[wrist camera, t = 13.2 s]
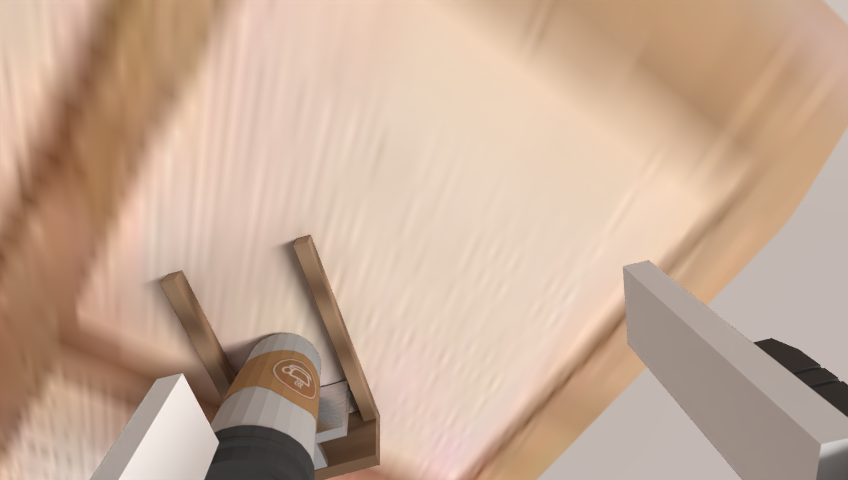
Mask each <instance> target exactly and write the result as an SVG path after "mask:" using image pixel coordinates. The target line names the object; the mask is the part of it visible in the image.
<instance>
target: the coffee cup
mask: <svg viewBox="0 0 848 480" xmlns="http://www.w3.org/2000/svg"><path fill="white" fill-rule="evenodd" d="M320 373H321V359H320V356H319V353H318V352H317V350H316V349H315V348H314V346H313V345H312V344H311V343H310V342H309V341H308V340H307V339H305V338H303V337H301V336H299V335H296V334H291V333H279V334H274V335H272V336H269V337H267V338H265V339H263V340H261V341H260V342H259V343H258V344H257V345H255V347H254V349H253V350H252V352H251V353H250V355H249V357H248V359H247V361H246V362H245V364H244V365H243V366H242V368H241V370H240V371H239V373H238V374H237V376H236V378H235V380H234V382H233V383H232V385H231V387H230V389H229V390H228V392H227V394H226V396H225V397H224V399H223V401H222V403H221V404H220V406H219V408H218V410H217V414H216V416H215V418H214V420H213V421H212V423H211V425H210V426H211V428H212V430H213V432H214V434H215V436H216V437H217V439H218V441H219V444H218V446H217V449H216V451H215V454H214V456H213V459H212V461H211V464H210V466H209V469H208V471H207V474H206V476H205V479H204V480H314V479H315V469H314V464H313V457H314V445H315V434H316V431H317V422H318V409H319V396H320Z"/></svg>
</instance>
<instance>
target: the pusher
mask: <svg viewBox="0 0 848 480" xmlns="http://www.w3.org/2000/svg"><path fill="white" fill-rule="evenodd" d="M350 394H351V388H350V385H349V383H348V380H346V381H343V382H339V383H335V384H332V385H328V386H324V387H321V388H320V396H319V409H318V422H317V431H316V434H315V445H314V457H313V464H314V469H315V470H317V469H320V468H324V467H328V459H327V457H326V455H325V453H324V450H323V448H322V446H321V444H320V443H321V442H324V441H328V440H332V439H336V438H339V437H343V436H347V428H348V416H349V405H350Z"/></svg>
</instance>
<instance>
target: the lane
mask: <svg viewBox="0 0 848 480" xmlns="http://www.w3.org/2000/svg"><path fill="white" fill-rule="evenodd" d="M294 249H295V251H296V254H297V256H298V259H299V261H300V264H301V266H302V269H303V271H304V274H305V276H306V279H307V281H308V283H309V286H310V288H311V291H312V293H313V296H314V298H315V301H316V303H317V306H318V308H319V311H320V313H321V316H322V318H323V321H324V323H325V326H326V328H327V331H328V333H329V336H330V338H331V341H332V343H333V346H334V348H335V351H336V353H337V356H338V358H339V360H340V363H341V365H342V368H343V370H344V373H345V375H346V378H347V380H348V383H349V385H350V388H351V390H352V393H353V395H354V398H355V400H356V403H357V405H358V408H359V410H360V411H358V412H354V413H351V414H349V416H348V428H347V436H343V437H339V438H336V439H332V440H328V441H324V442H321V443H320V444H321V446H322V448H323V450H324V453H325V455H326V457H327V459H328V467H324V468H320V469H317V470H315V479H314V480H324V479H328V478H332V477H335V476H339V475H343V474H346V473H350V472H354V471H358V470H361V469H365V468H369V467H372V466H376V465H380V415H379V412H378V410H377V407H376V404H375V402H374V399H373V396H372V394H371V391H370V389H369V386H368V383H367V381H366V378H365V376H364V373H363V370H362V368H361V365H360V363H359V360H358V357H357V355H356V352H355V350H354V347H353V344H352V342H351V339H350V337H349V334H348V331H347V329H346V326H345V323H344V321H343V318H342V316H341V313H340V310H339V308H338V305H337V303H336V300H335V297H334V295H333V292H332V290H331V287H330V284H329V282H328V279H327V277H326V274H325V271H324V269H323V266H322V264H321V261H320V258H319V256H318V253H317V250H316V248H315V245H314V243H313V240H312V237H311V235H308V236H304V237H301V238H297V239H296V241H295V243H294ZM160 284H161V286H162V288H163V290H164V291H165V293H166V295H167V297H168V299H169V301H170V303H171V304H172V306H173V308H174V310H175V312H176V314H177V316H178V317H179V319H180V321H181V323H182V325H183V327H184V329H185V330H186V332H187V334H188V336H189V338H190V340H191V342H192V343H193V345H194V347H195V349H196V351H197V353H198V354H199V356H200V358H201V360H202V362H203V364H204V366H205V367H206V369H207V371H208V373H209V375H210V377H211V379H212V380H213V382H214V384H215V386H216V388H217V390H218V392H219V393H220V395H221V397H222V399H224V397H225V396H226V394H227V392H228V390H229V389H230V387H231V385H232V383H233V382H234V380H235V378H236V375H235V373H234V371H233V369H232V367H231V365H230V363H229V361H228V359H227V357H226V355H225V354H224V352H223V350H222V348H221V346H220V344H219V342H218V340H217V338H216V336H215V334H214V332H213V330H212V328H211V326H210V324H209V322H208V320H207V318H206V317H205V315H204V313H203V311H202V309H201V307H200V305H199V303H198V301H197V299H196V297H195V295H194V293H193V291H192V289H191V287H190V285H189V283H188V281H187V280H186V278H185V276H184V274H183V272H182V271H179V272H175V273H171V274H168V275H167V276H166V277H165V278H164V279H163V280H162V281H161V282H160Z"/></svg>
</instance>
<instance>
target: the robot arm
mask: <svg viewBox="0 0 848 480" xmlns="http://www.w3.org/2000/svg"><path fill="white" fill-rule="evenodd" d="M623 276H624V292H625V308H626V324H627V340H628V345H629V346H630V347H631V348H632V349H633V351H634V352H635V353H636V354H637V355H638V357H639V358H640V359H641V360H642V361H643V363H644V364H645V365H646V366H647V367H648V368H649V370H650V371H651V372H652V373H653V374H654V375H655V377H656V378H657V379H658V380H659V382H660V383H661V384H662V385H663V386H664V387H665V389H666V390H667V391H668V392H669V393H670V395H671V396H672V397H673V398H674V399H675V401H676V402H677V403H678V404H679V405H680V407H681V408H682V409H683V410H684V411H685V413H686V414H687V415H688V416H689V417H690V418H691V420H692V421H693V422H694V423H695V424H696V426H697V427H698V428H699V429H700V430H701V432H702V433H703V434H704V435H705V436H706V437H707V439H708V440H709V441H710V442H711V443H712V444H713V446H714V447H715V448H716V449H717V451H718V452H719V453H720V454H721V455H722V457H724V459H725V460H726V461H727V463H728V464H729V465H730V466H731V467H732V468H733V470H734V471H735V472H736V473H737V474H738V476H739V477H740V478H741V479H742V480H848V385H847V384H846V383H845V382H843V381H842V382H840V381H839V379H838V377H836V376H835V375H833V374H832V373H831V372H829V371H828V370H827V369H825V368H821V367H820V364H818V363H817V362H815V361H814V360H813V359H811V358H810V357H808V356H807V355H806V354H804V353H803V352H802V351H800V350H799V349H796V348H794V347H791V346H789V345H787V344H784V343H782V342H779V341H777V340H774V339H772V338H770V339H766V340H762V341H758V342H754V343H753V342H752V341H750V340H749V339H748V338H746V337H745V336H744V335H742V334H741V333H740V332H739V331H738V330H736V329H735V328H734V327H733V326H731V325H730V324H729V323H727V322H726V321H725V320H723V319H722V318H721V317H720V316H719V315H717V314H716V313H715V312H714V311H712V310H711V309H710V308H708V307H707V306H706V305H705V304H703V303H702V302H701V301H700V300H698V299H697V298H696V297H695V296H693V295H692V294H691V293H689V292H688V291H687V290H686V289H684V288H683V287H682V286H681V285H679V284H678V283H677V282H676V281H674V280H673V279H672V278H670V277H669V276H668V275H667V274H665V273H664V272H663V271H662V270H660V269H659V268H658V267H657V266H655V265H654V264H653V263H651V262H650V261H649V260H648V261H644V262H640V263H635V264H631V265H627V266H623ZM218 444H219V441H218V439H217V437H216V436H215V434H214V432H213V430H212V428H211V426H210V424H209V422H208V420H207V419H206V417H205V415H204V413H203V411H202V409H201V407H200V405H199V403H198V402H197V400H196V398H195V396H194V394H193V392H192V390H191V388H190V386H189V384H188V383H187V381H186V379H185V377H184V375H183V373H180V374H176V375H172V376H168V377H164V378H160V379H157V380H156V381H155V383H154V384H153V386H152V387H151V389H150V390H149V392H148V393H147V395H146V396H145V398H144V399H143V401H142V402H141V404H140V405H139V407H138V408H137V410H136V411H135V413H134V414H133V416H132V417H131V419H130V420H129V422H128V423H127V425H126V426H125V428H124V429H123V431H122V432H121V434H120V435H119V437H118V438H117V440H116V441H115V443H114V444H113V446H112V447H111V449H110V450H109V452H108V453H107V455H106V456H105V458H104V459H103V461H102V462H101V464H100V465H99V467H98V468H97V470H96V471H95V473H94V474H93V476H92V477H91V479H90V480H204V479H205V476H206V474H207V471H208V469H209V466H210V464H211V461H212V459H213V456H214V454H215V451H216V449H217V446H218Z"/></svg>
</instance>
